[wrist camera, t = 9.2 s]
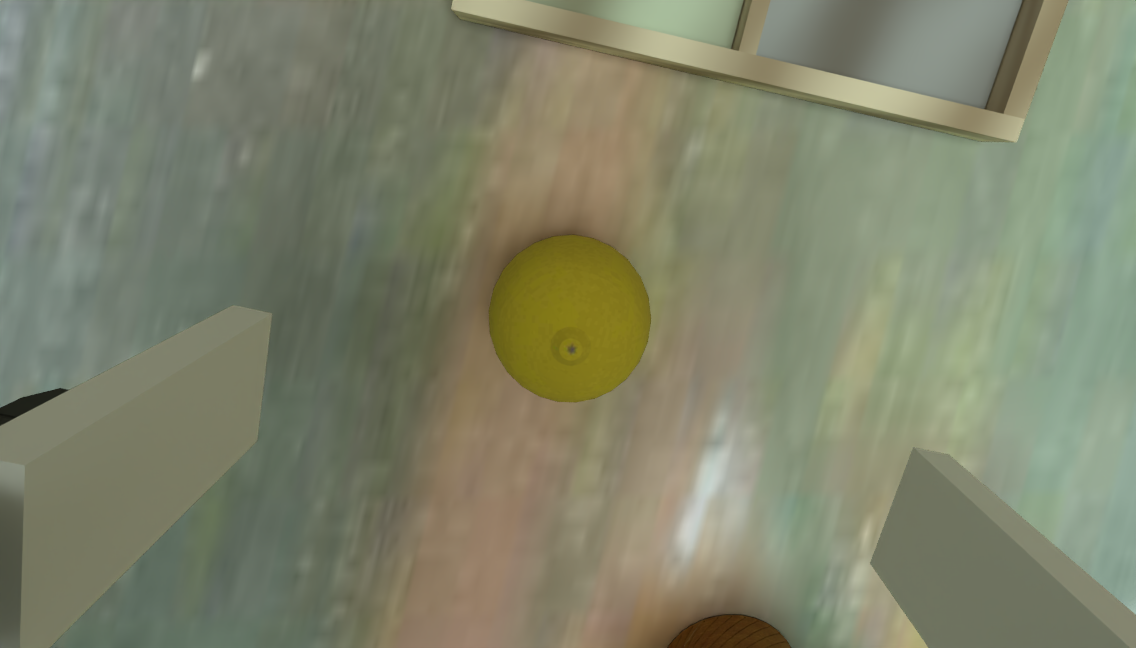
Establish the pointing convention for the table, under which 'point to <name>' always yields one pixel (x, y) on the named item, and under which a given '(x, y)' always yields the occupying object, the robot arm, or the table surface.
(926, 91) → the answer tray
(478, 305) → the table surface
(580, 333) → the lemon
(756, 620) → the disposable coffee cup
